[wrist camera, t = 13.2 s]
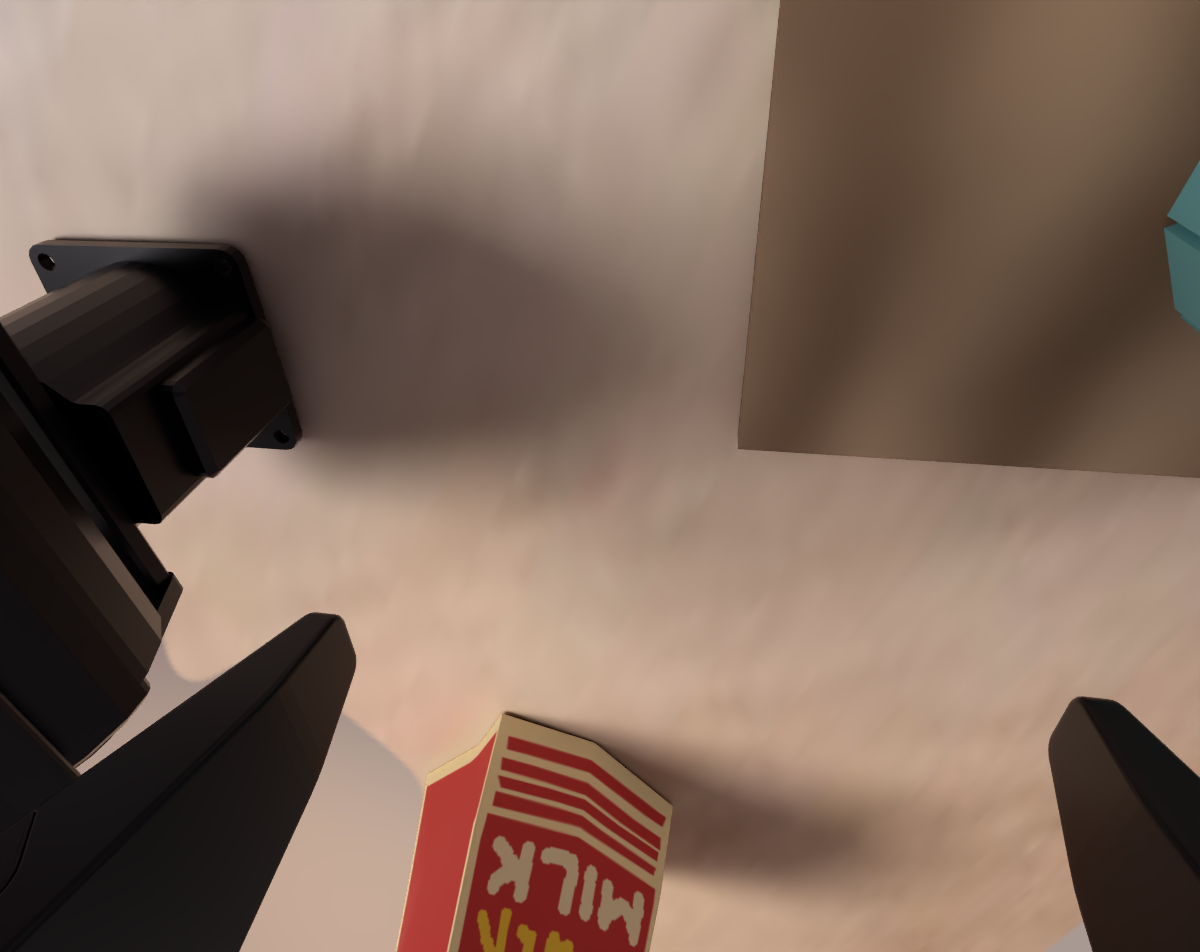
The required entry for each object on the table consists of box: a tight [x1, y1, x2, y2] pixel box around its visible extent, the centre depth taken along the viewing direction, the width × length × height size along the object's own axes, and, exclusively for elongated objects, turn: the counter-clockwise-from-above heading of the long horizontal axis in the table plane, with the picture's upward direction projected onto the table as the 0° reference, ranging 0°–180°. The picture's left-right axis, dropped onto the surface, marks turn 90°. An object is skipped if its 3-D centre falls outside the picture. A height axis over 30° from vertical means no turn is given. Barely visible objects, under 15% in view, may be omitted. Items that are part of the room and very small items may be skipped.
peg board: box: [738, 0, 1200, 478], centre depth 14 cm, size 16×12×5 cm
